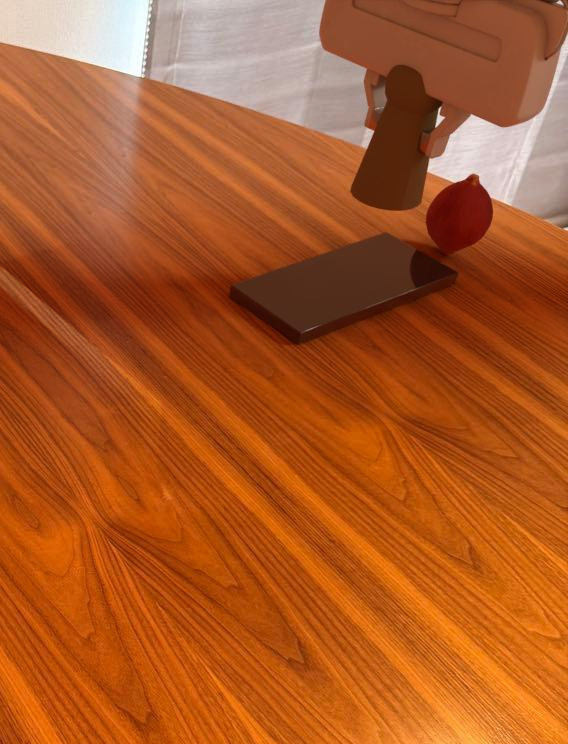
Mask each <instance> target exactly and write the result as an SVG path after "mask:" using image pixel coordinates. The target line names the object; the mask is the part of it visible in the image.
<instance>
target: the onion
mask: <svg viewBox="0 0 568 744" xmlns="http://www.w3.org/2000/svg"><path fill="white" fill-rule="evenodd" d="M493 218H494V207H493V203H492V198H491V196H490V194H489V191H488V190H487V189H486V188H485V187H484V185H482V184H481V181H480V175H479V174H477V173H471V174H469V175H467V176H466V178H465V179H462V180H458V181H456V182H454V183H451V184H449V185H447V186H446V187H445V188H443V189H441V191H440V192H439V193H437V194H436V196H435V197H434V198H433V200H432V201H431V203H430V204H429V206H428V209H427V211H426V216H425V225H426V230H427V234H428V237H430V239H431V240H432V241H433V242H434V244H435V245H436V247H438V249H439V250H440V252H441V253H442V254H444V255H452V254H454V253H457V252H459V251H462V250H464V249H466V248H469V247H471V246H473V245H475V244H476V243H478V242H479V241H480V240H482V239H483V237H484V236H485V235H486V234H487V232H488V230H489V229H490V228H491V226H492V221H493Z"/></svg>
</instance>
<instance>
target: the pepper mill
mask: <svg viewBox="0 0 568 744" xmlns="http://www.w3.org/2000/svg"><path fill="white" fill-rule="evenodd" d="M385 95H386V98H387V102H386V104H385V107H384V109H383V112H382V114H381V116H380V119H379V121H378V124H377V126H376V128H375V131H373V134H372V135H371V138H370V141H369V143H368V145H367V148H366V150H365V153H364V155H363V157H362V159H361V162H360V164H359V167H358V169H357V172H356V174H355V176H354V178H353V180H352V184H351V186H350V191H349V192H350V194H351V196H352V197H353V198H354V199H356V200H357V201H358V202H359V203H361V204H364V205H366V206H368V207H372V208H375V209H378V210H384V211H390V212H391V211H392V212H397V211H398V212H403V211H410V210H413V209H415V208H418V207H419V206H420V205H421V204H422V201H423V195H424V191H425V190H424V189H425V185H426V181H427V180H426V179H427V175H428V169H429V163H430V159H431V158H429V157H427V156H425V155H422V154H420V153H419V152H418V150H417V147H418V144H419V143H420V141H419V139H420V135H421V132H422V131H425V130H431V129H432V128H436V127H437V120H438V115H439V112H440V109H441V106H442V103H443V102H442V101H440V100H438V99H435V98H433V97H431V96H428V95H427V94H426V91H425V87H424V82H423V78H422V75H421V74H420V73H419V72H418V71H417V70H415V69H413V68H411V67H409V66H406V65H396V66H394V67H393V68H392V69H391V70H390V72H389V73H388V75H387V77H386V81H385Z"/></svg>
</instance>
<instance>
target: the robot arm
mask: <svg viewBox="0 0 568 744" xmlns="http://www.w3.org/2000/svg"><path fill="white" fill-rule="evenodd" d="M559 2H561V3H559ZM320 17H321V18H320V22H319V29H318V35H319V41H320V44H321V47H322V49H323V50H324V51H326V52H328V53H330V54H332V55H335V56H337V57H339V58H341V59H344V60H346V61H347V62H350V63H353V64H355V65H357V66H360V67H362V68H364V69H366V70H365V75H364V78H363V86H364V87H363V88H364V92H365V93H364V94H365V98H366V104H367V107H368V108H367V112H366V115H365V119H364V123H363V124H364V125H363V126H364V127H365V128H366V129H368V130H370V131H373V132H374V131H375V128H376V126H377V124H378V121H379V119H380V116H381V114H382V112H383V109H384V107H385V104H386V102H387V98H386V95H385V81H386V77H387V75H388V73H389V72H390V70H391V69H392V68H393V67H394V66H396V65H406V66H409V67H411V68H413V69H415V70H417V71H418V72H419V73H420V74H421V75H422V78H423V82H424V87H425V91H426V94H427V95H428V96H431V97H433V98H435V99H438V100H440V101H442V102H443V103H442V106H441V107H440V108H439V112H438V115H439V116H440V117H443V119H442V120H441V121H440V122H439V123H438V125H436V127H435V128H432V129H431V130H425V131H422V132H421V135H420V139H419V141H420V143H419V144H418V147H417V150H418V152H419V153H420V154H422V155H425V156H427V157H429V158H430V159H432V160H433V159H436V158H439V157H441V156H442V155H443V154H444V153H445V151H446V148H447V146H448V142H449V139H450V137H451V135H452V134H454V132H456V131H457V130H458V129H459V128H460V127H461V126H462V125H463V124H464V123H466V121H467V120H468V119H470V117H471V116H475V117H477V118H478V119H480V120H483V121H486V122H488V123H490V124H493V125H495V126H497V127H499V128H510V127H515V126H518V125H521V124H525V123H527V122H529V121H531V120H532V119H534V118H535V117H536V116H538V115H539V114H540V113H541V112H542V111H543V110H544V108H545V105H546V103H547V101H548V99H549V95H550V92H551V89H552V85H553V82H554V78H555V75H556V71H557V67H558V64H559V60H560V55H561V51H562V47H563V45H564V44H565V42H566V40H567V36H568V0H325V1H324V5H323V8H322V13H321V16H320Z"/></svg>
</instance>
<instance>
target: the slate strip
mask: <svg viewBox="0 0 568 744" xmlns="http://www.w3.org/2000/svg"><path fill="white" fill-rule="evenodd" d="M459 275H460V272H459V271H457V270H455V269H454V268H452V267H450V266H448V265H447V264H444V263H443V262H441V261H439V260H437V259H435V258H434V257H432V256H431V255H429V254H427V253H425V252H423V251H422V250H420V249H418V248H416V247H414V246H412V245H410V244H409V243H407V242H405V241H403V240H401V239H400V238H398V237H397V236H394V235H393V234H391V233H389V232H387V231H385V232H382V233H379V234H376V235H373V236H370V237H367V238H364V239H362V240H359V241H355V242H352V243H350V244H347V245H343V246H340V247H338V248H334V249H332V250H329V251H326V252H323V253H320V254H318V255H314V256H312V257H309V258H306V259H303V260H300V261H297V262H294V263H291V264H288V265H286V266H283V267H280V268H276V269H273V270H272V271H268V272H265V273H263V274H262V273H261V274H259V275H256V276H253V277H249V278H247V279H244V280H242V281H241V280H240V281H238V282H235V283H233V284H231V285H230V288H229V294H228V297H229V298H230V299H232V300H234V302H236V303H237V304H239V305H241V306H242V307H244V309H246V310H247V311H249V312H250V313H252V314H253V315H255V316H257V317H258V318H259V319H260V320H262V321H264V322H265V323H266V324H268V325H269V326H270V327H272V328H273V329H275V330H276V331H278V332H279V333H280V334H282V335H283V336H285V337H286V338H288V339H289V340H291V341H292V342H293V343H295V344H296V345H301V344H303V343H306V342H309V341H311V340H314V339H316V338H318V337H321V336H324V335H327V334H329V333H332V332H335V331H336V330H340V329H343V328H344V327H345V328H346V327H347V326H350V325H353V324H355V323H357V322H360V321H363V320H365V319H368V318H370V317H373V316H376V315H378V314H381V313H383V312H386V311H389V310H391V309H394V308H396V307H400V306H401V305H404V304H407V303H409V302H412V301H415V300H417V299H420V298H423V297H424V296H425V297H426V296H428V295H430V294H433V293H435V292H438V291H440V290H443V289H445V288H448V287H451V286H454V285H455V284H456V283H457V279H458V277H459Z"/></svg>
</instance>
